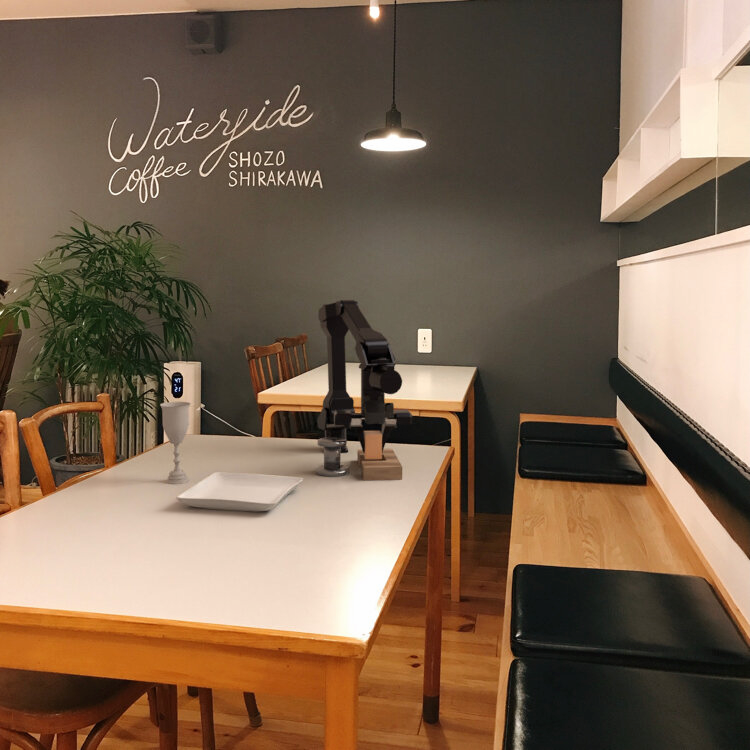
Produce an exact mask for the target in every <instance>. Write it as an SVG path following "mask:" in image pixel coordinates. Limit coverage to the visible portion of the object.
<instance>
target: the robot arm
mask: <svg viewBox="0 0 750 750" xmlns="http://www.w3.org/2000/svg"><path fill="white" fill-rule="evenodd" d="M317 312H318V314H317V315H318V317H317V318H318V320H319V325H320V329H321V330H322V333H324V335H325V336H326V344H327V345H326V349H327V379H328V381H327V383H328V391H327V393H326V395H325V397H324V398H323V401H322V409H321V411H320V413H319V415H318V418H317V420H316V421H317V428H318V429H321V430H322V431H324V438H326V437H339V438H345V439H346V440H347V429H354V431H355V433H356V435H357V438H358V441H359V443H360V444H359V445H360V447H361V449H362V450H363V453H365V444H364V429H363V428H364V427H363V424H362V422H365V423H364V424H366V425H373V424H379V425H381V434H382V452H383V449H385V446H386V442H387V439H388V437H389V435H390V433H391V432H392V430H393V429H396V428H397V427H398V425H412V424H413V414H412V413H411V411H410V410H409V409H406V408H405V409H394V402H385V395H386V394H387V395H394V394H396V393H398V392H399V391H400V389H401V388H402V385H403V378H402V376H401V374H400V373H399V372H398V371H397V370H396V369H395V366H396V362H395V360H396V358H395V356H394V353H393V350H392V347H391V344H390V342H389V341H388V339H387V338H386V337H385V336H384V335H383V334H382V333H381V332H379V331H378V330H374V329H373V328H372V326H371V325H370V323H369V322H368V320H367V318H366V316H364V314H363V312H362V311H361V309H360V307H359V302H358V301H357V300H355V299H340V300H338V301H336V302H332V303H324V304H323V305H322V306H321V307H320V308H319V309H318V311H317ZM348 332H349V333H351V335H352V337H353V339H354V340H355V342H356V343H355V346H354V347H355V348H354V351H355V353H356V356H357V358H358V360H359V362H360V364H359V365H358V368H359V369H360V413H356V410H355V408H354V406H355V405H354V403H355V401H354V398H353V397H351V396H350V394H349V393H348V391H347V369H346V368H347V367H346V363H347V362H346V336H347V333H348ZM397 423H398V425H397ZM322 448H323V451H324V447H322ZM340 453H349V448H348V445H345V446H341V447H340Z"/></svg>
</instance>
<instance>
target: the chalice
mask: <svg viewBox="0 0 750 750" xmlns="http://www.w3.org/2000/svg"><path fill="white" fill-rule="evenodd" d="M159 404H160V407H161V412H162V413H161V414H162V427H163V431H164V433H165V435H166V437H167V439H168V441H169V444H172V445H173V446H174V450H173V455H174V459H173V462H174V468H173V470H170V472H169V473H168V476H167V480H166V482H165V483H167V484H171V485H180V484H185V483H188V482H189V479H188V476H187V474H186V472H185V471H184V470H183V469H182V470H181V468H180V462H181V461H182V460H181V459H180V456H179V455H180V454H181V452H180V449H179V446H180V444H182V443H183V442H184V440H185V438H186V435H187V433H188V429H189V426H190V414H189V413H190V409H189V408H190V407H191V403H190V402H189V401H188V402H187V401H170V402H167V401H166V402H163V403H159Z"/></svg>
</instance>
